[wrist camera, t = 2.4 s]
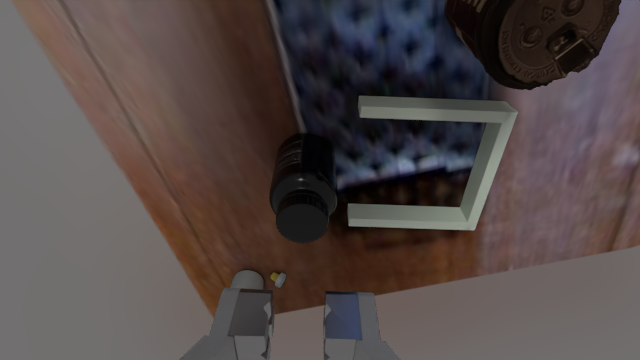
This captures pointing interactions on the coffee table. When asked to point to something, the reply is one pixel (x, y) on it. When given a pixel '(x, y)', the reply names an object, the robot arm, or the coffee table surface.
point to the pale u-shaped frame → (481, 175)
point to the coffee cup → (532, 36)
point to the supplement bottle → (304, 187)
